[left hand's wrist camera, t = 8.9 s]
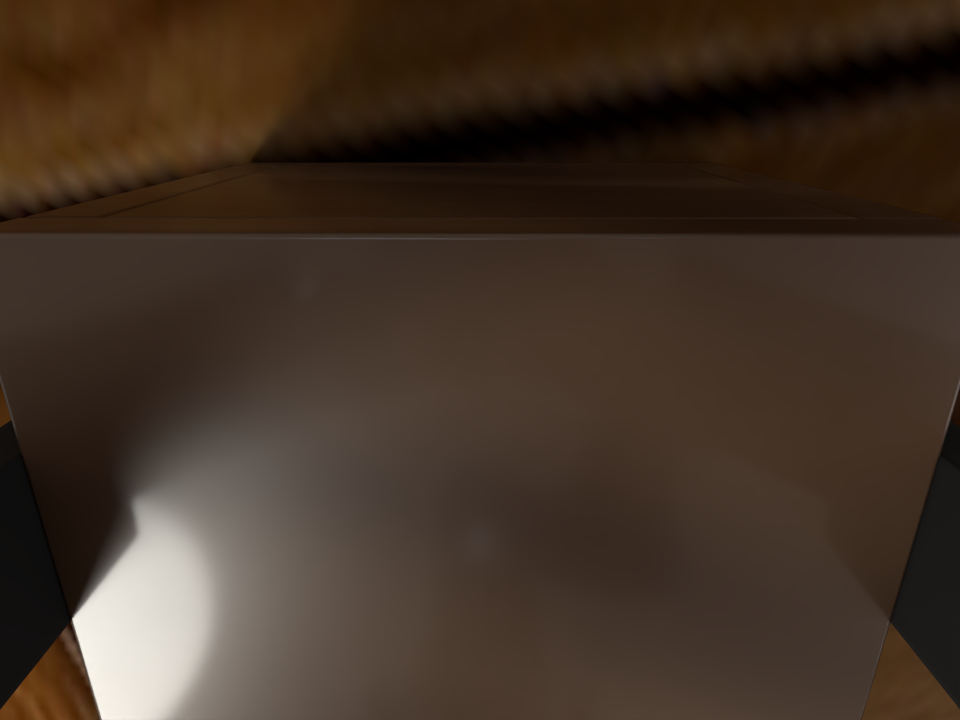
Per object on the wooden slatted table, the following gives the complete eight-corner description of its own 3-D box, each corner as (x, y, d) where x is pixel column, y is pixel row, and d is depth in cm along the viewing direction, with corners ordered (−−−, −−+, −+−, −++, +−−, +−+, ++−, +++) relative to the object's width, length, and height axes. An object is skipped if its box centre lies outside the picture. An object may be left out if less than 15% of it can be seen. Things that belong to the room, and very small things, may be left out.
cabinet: (640, 743, 23) (739, 1137, 14) (320, 743, 23) (220, 1136, 14) (714, 162, 16) (1009, 232, 7) (247, 162, 16) (-47, 232, 7)
